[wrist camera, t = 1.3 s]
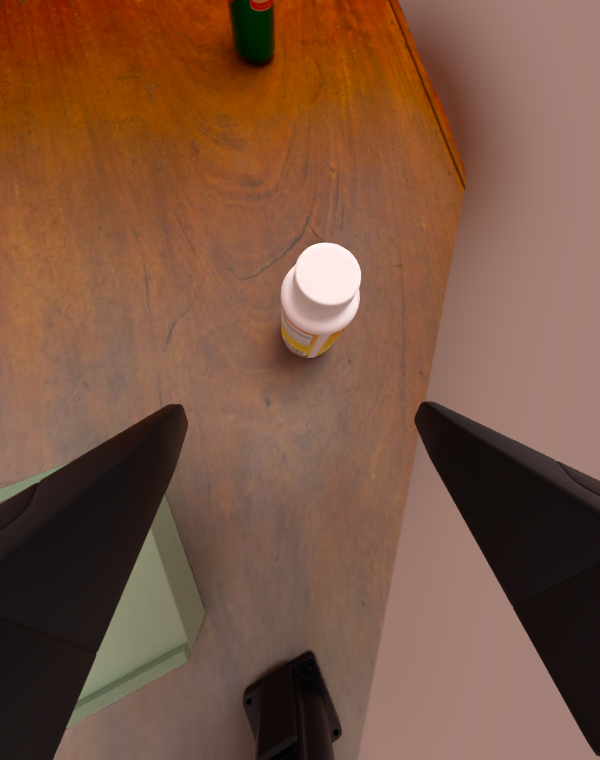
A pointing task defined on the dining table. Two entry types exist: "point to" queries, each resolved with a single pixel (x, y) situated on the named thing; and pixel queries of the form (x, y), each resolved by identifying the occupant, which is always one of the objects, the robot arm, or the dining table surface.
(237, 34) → the soda can
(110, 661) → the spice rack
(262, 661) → the dining table surface
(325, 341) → the supplement bottle
